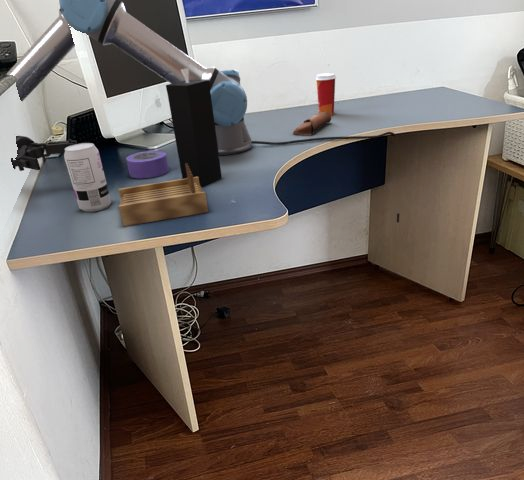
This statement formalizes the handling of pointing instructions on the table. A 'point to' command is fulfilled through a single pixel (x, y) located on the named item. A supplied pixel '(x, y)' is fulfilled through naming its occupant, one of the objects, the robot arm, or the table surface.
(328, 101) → the paper cup
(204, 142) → the tissue box
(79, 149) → the supplement can
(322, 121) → the sunglasses case
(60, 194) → the table surface
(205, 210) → the dish rack
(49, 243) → the table surface
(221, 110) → the robot arm
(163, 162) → the tape roll
